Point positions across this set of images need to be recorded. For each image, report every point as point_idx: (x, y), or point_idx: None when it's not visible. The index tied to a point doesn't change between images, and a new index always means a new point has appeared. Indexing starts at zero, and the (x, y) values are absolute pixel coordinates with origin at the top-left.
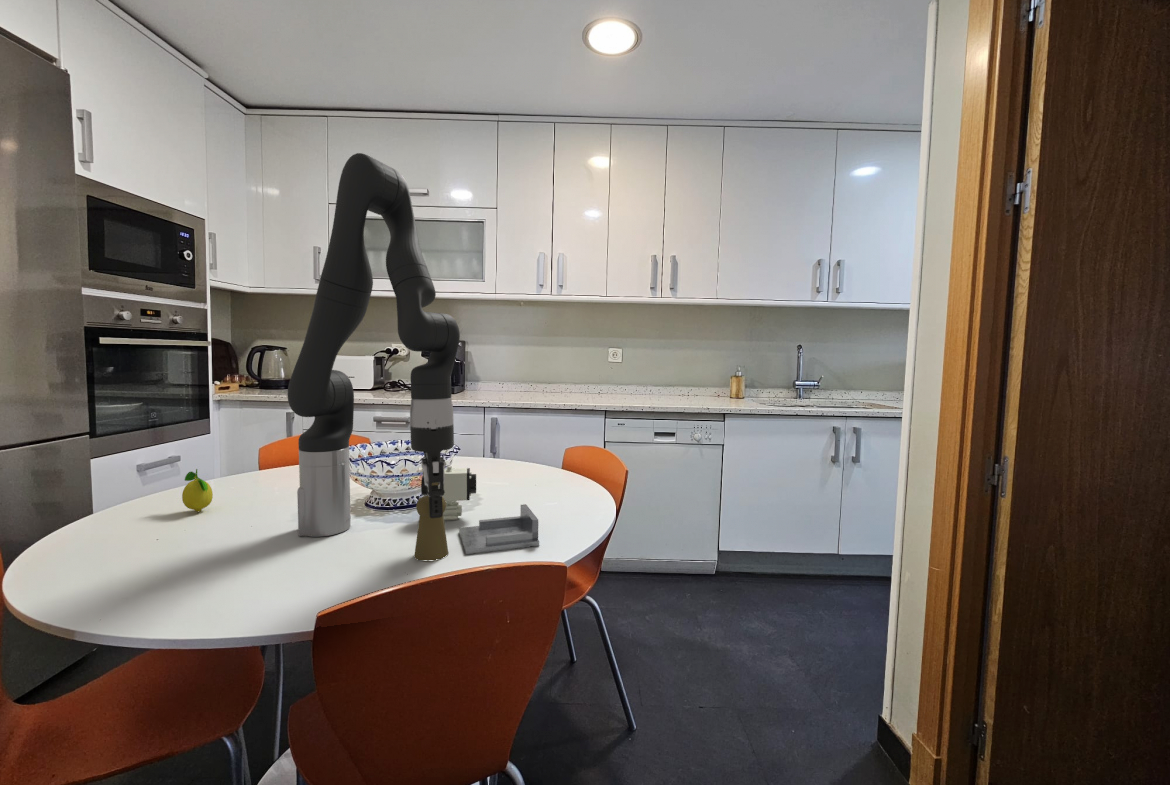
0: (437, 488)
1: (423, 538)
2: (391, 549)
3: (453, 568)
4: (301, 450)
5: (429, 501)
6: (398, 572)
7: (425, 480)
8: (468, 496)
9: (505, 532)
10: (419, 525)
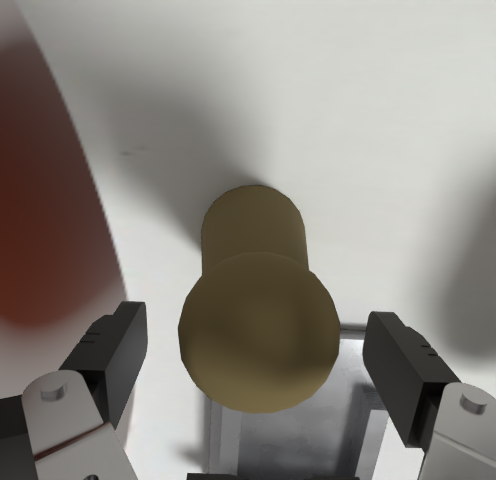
0: (394, 420)
1: (212, 232)
2: (356, 114)
3: (131, 279)
4: None
5: (88, 354)
6: (146, 126)
7: (41, 474)
8: None
9: (302, 440)
10: (240, 236)
